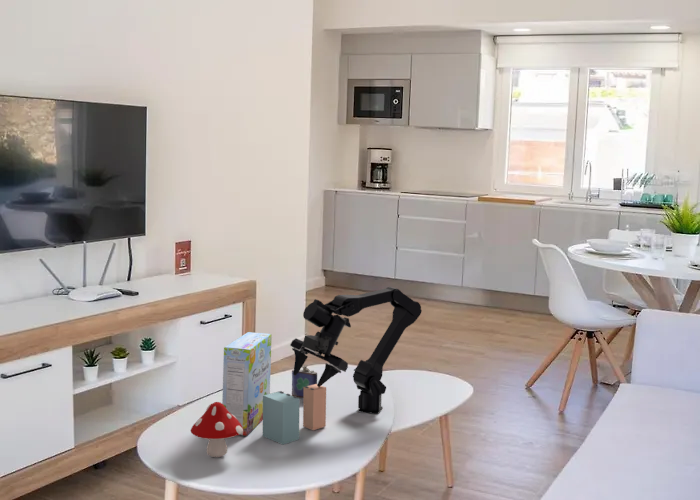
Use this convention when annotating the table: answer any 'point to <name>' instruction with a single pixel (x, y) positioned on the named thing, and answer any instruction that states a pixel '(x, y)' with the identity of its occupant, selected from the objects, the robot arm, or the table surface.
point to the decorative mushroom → (217, 428)
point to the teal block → (281, 417)
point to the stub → (314, 407)
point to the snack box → (247, 378)
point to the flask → (302, 381)
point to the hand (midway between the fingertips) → (306, 380)
